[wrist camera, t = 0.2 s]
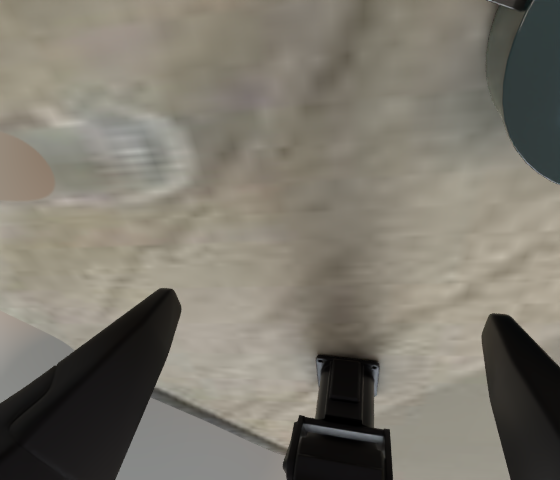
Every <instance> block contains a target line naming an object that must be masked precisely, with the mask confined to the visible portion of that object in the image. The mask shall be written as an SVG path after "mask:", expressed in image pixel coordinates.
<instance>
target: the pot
mask: <svg viewBox="0 0 560 480" xmlns="http://www.w3.org/2000/svg"><path fill="white" fill-rule="evenodd" d="M486 1H489V2H492V3H495V4H498V5H499V8H498V10H497V13H496V15H495V18H494V20H493V24H492V28H491V31H490V35H489V39H488V46H487V53H486V77H487V84H488V89H489V92H490V96H491V99H492V101H493V103H494V105H495V107H496V109H497V111H498V113H499V114H500V116H501V117H502V120H503V123H504V126H505V129H506V133H507V135H508V137H509V139H510V141H511V142H512V144H513V146H514V148H515V149H516V151H517V152H518V153H519V155H520V156H521V157H522V158H523V160H524V161H525V162H526V163H527V164H528V165H529V166H530V167H531V168H532V169H534V170H535V171H536V172H537V173H538V174H540V175H542V176H543V177H545V178H546V179H548V180H550V181H551V182H554V183H556V184H558V185H560V0H486Z"/></svg>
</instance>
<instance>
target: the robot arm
mask: <svg viewBox="0 0 560 480" xmlns="http://www.w3.org/2000/svg"><path fill="white" fill-rule="evenodd" d="M180 314H181V304H180V302H179V300H178V298H177V295H176V293H175V291H174V290H173V289H169V288H160V289H158V290H157V291H155V292H154V293H153V294H151V295H150V296H149V297H147V298H146V299H145V300H143V301H142V302H140V303H139V304H138V305H136V306H135V307H134V308H132V309H131V310H130V311H128V312H127V313H126V314H124V315H123V316H121V317H120V318H119V319H117V320H116V321H115V322H113V323H112V324H111V325H109V326H108V327H107V328H105V329H104V330H102V331H101V332H100V333H98V334H97V335H96V336H94V337H93V338H92V339H90V340H89V341H88V342H86V343H85V344H83V345H82V346H81V347H79V348H78V349H77V350H75V351H74V352H73V353H71V354H70V355H69V356H67V357H66V358H65V359H63V360H62V361H60V362H59V363H58V364H57V366H53V367H52V368H51V369H50V370H48V371H47V372H45V373H44V374H43V375H41V376H40V377H38V378H37V379H36V380H34V381H33V382H32V383H30V384H29V385H27V386H26V387H24V388H23V389H21V390H20V391H18V392H17V393H15V394H14V395H12V396H11V397H9V398H8V399H6V400H5V401H3V402H2V403H0V480H115V479H116V477H117V474H118V472H119V469H120V467H121V465H122V463H123V460H124V458H125V455H126V453H127V451H128V448H129V446H130V444H131V441H132V439H133V436H134V434H135V432H136V430H137V427H138V425H139V423H140V420H141V418H142V416H143V413H144V411H145V408H146V406H147V404H148V401H149V399H150V397H151V394H152V392H153V390H154V387H155V385H156V383H157V380H158V378H159V375H160V373H161V371H162V368H163V366H164V364H165V361H166V359H167V356H168V353H169V350H170V347H171V344H172V341H173V337H174V334H175V331H176V328H177V324H178V321H179V318H180ZM482 347H483V354H484V362H485V369H486V376H487V384H488V391H489V397H490V402H491V406H492V410H493V414H494V418H495V421H496V425H497V429H498V433H499V437H500V440H501V444H502V448H503V452H504V456H505V459H506V463H507V467H508V471H509V475H510V479H511V480H560V367H559V366H558V365H557V364H556V363H555V362H554V361H553V360H552V359H551V358H550V357H549V356H548V355H547V354H546V352H545V351H544V350H543V349H542V348H541V347H540V346H539V345H538V344H537V343H536V342H535V341H534V340H533V339H532V338H531V337H530V336H529V335H528V334H527V333H526V332H525V331H524V330H523V329H522V328H521V327H520V326H519V325H518V324H517V323H516V321H515V320H514V319H513V318H512V317H510V316H509V315H506V314H495V313H492V314H490V315H489V316H488V319H487V321H486V324H485V327H484V329H483V332H482ZM316 367H317V376H318V386H319V393H318V400H317V408H316V416H315V419H314V418H308V417H305V416H302V415H299V418H298V422H294V427H293V432H292V437H291V441H290V444H289V447H288V450H287V453H286V456H285V459H284V462H283V469H284V471H285V473H286V477H287V480H393V472H392V456H391V441H390V429H384V430H383V429H377V428H374V397H375V396H377V387H378V377H379V363H378V362H375V361H368V360H359V359H350V358H341V357H333V356H324V355H318V356H317V357H316Z"/></svg>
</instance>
